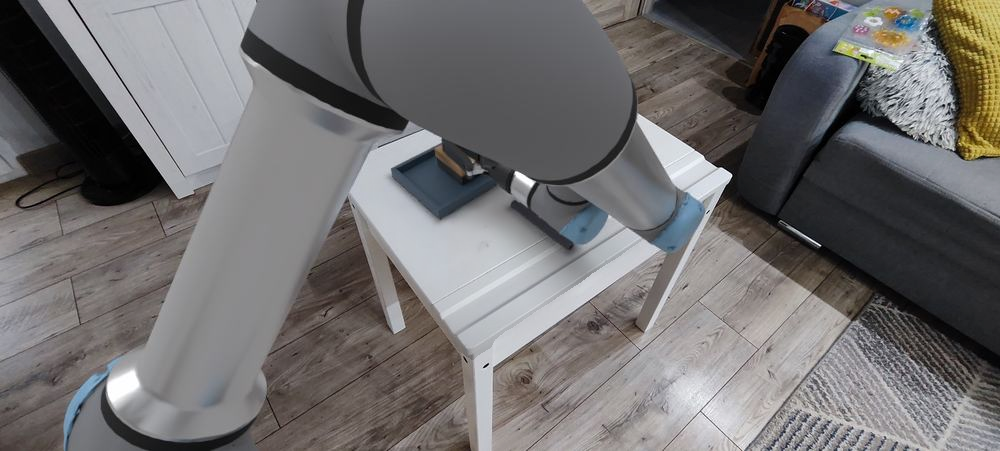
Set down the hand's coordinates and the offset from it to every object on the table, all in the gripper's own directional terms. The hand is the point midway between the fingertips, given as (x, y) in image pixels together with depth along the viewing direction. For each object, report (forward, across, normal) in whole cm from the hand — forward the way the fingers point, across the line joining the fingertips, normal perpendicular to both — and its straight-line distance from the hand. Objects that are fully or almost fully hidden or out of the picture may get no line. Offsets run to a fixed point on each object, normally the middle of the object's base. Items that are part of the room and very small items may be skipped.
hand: (439, 115), depth 88 cm
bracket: (-27, +8, -11) cm, 30 cm away
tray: (-5, +1, -11) cm, 12 cm away
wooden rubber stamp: (-5, 0, -10) cm, 11 cm away
